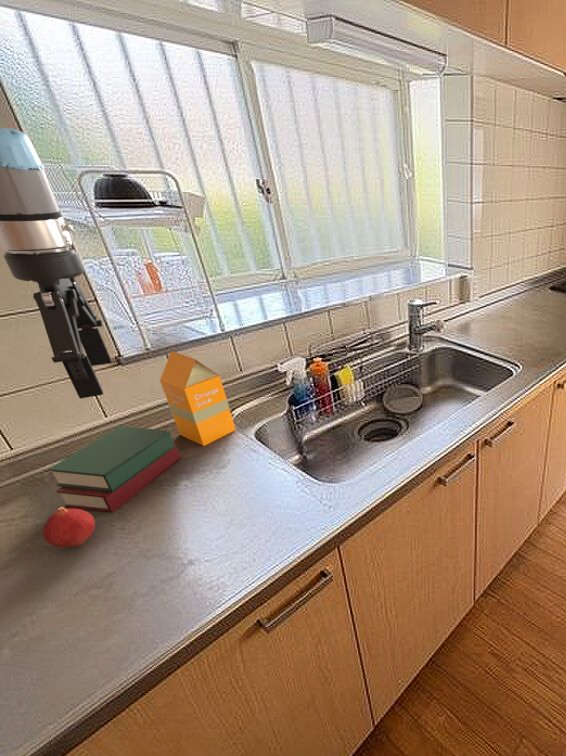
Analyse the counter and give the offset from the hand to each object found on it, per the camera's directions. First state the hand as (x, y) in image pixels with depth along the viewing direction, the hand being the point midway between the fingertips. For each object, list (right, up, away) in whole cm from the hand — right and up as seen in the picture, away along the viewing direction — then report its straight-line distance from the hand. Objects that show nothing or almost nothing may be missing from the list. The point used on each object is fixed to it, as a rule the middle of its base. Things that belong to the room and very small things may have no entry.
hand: (97, 378), depth 71 cm
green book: (-6, -17, +10) cm, 20 cm away
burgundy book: (-6, -20, +12) cm, 24 cm away
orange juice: (-2, -12, +28) cm, 31 cm away
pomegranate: (-2, -28, -1) cm, 28 cm away
